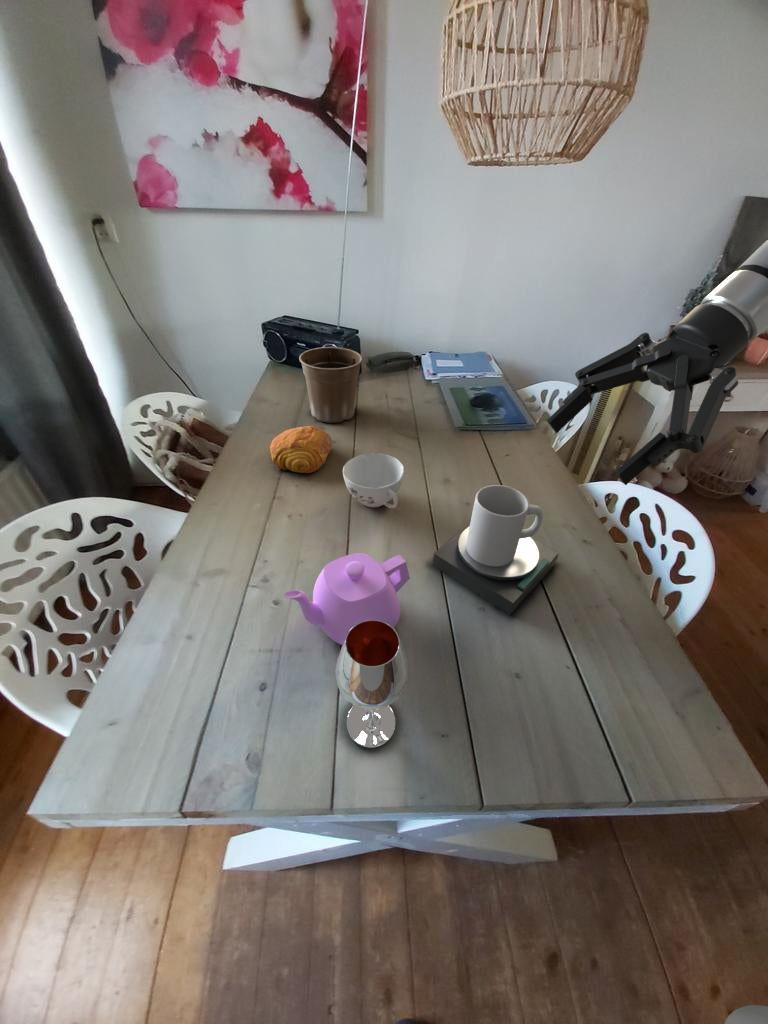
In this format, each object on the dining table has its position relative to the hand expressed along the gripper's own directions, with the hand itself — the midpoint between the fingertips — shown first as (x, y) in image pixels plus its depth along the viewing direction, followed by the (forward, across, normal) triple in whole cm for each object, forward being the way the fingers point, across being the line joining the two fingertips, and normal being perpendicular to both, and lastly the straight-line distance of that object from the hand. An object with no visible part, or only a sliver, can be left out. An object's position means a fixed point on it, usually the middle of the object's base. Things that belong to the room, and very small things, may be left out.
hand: (582, 450), depth 58 cm
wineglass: (+44, -13, +4) cm, 46 cm away
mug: (+19, +7, -14) cm, 25 cm away
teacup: (+32, +31, -7) cm, 45 cm away
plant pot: (+31, +74, -8) cm, 80 cm away
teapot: (+42, +4, +2) cm, 42 cm away
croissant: (+40, +53, +1) cm, 67 cm away
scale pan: (+19, +7, -14) cm, 25 cm away
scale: (+22, +7, -17) cm, 29 cm away
